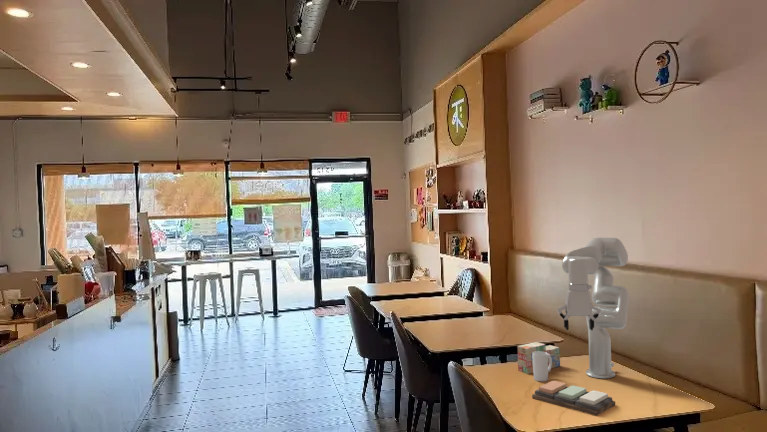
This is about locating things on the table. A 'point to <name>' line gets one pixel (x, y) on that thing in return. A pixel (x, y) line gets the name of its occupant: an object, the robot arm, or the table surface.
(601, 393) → the cream tile
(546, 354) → the mug
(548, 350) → the stack of blocks
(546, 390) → the terracotta tile
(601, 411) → the dark grey tile board
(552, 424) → the table surface
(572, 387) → the sage tile
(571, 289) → the robot arm
